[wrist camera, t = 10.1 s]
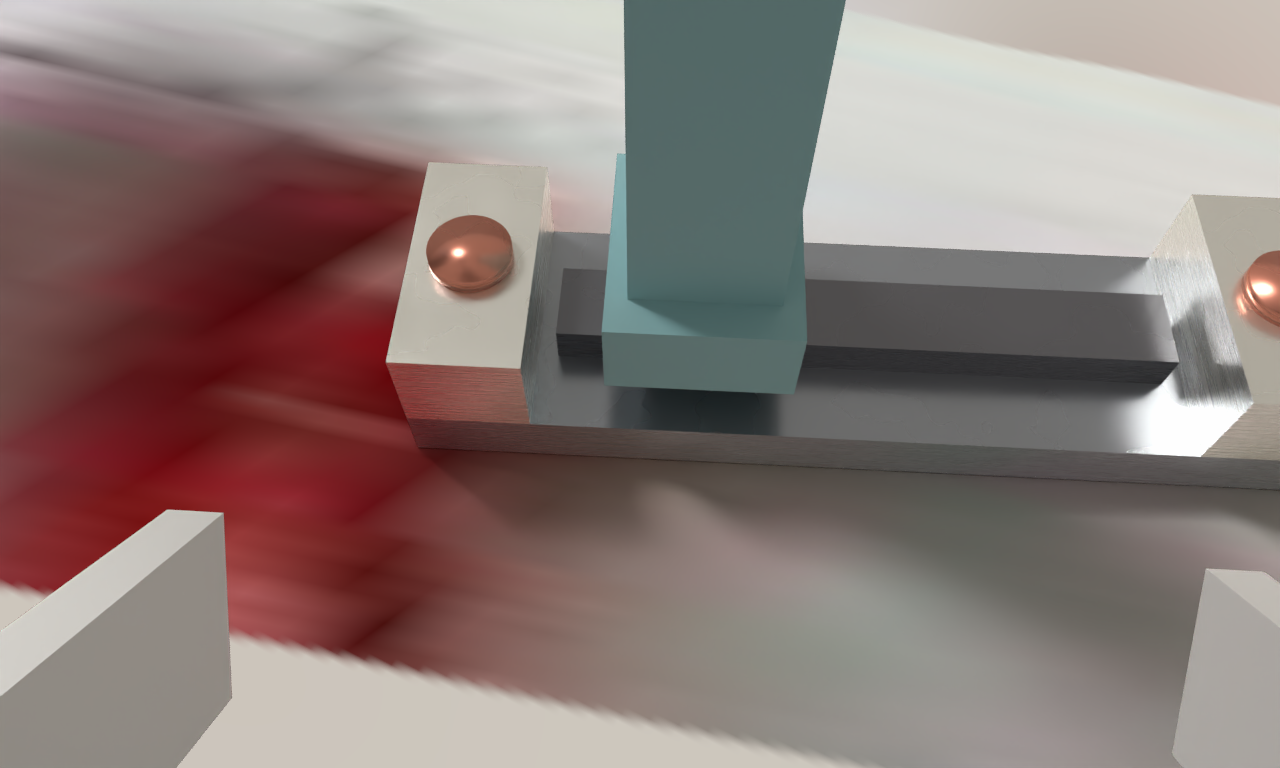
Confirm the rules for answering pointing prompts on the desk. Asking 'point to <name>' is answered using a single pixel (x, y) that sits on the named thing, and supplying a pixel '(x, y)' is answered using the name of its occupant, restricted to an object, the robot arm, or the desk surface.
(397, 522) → the desk surface
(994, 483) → the desk surface
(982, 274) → the rail
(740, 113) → the carriage
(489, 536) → the desk surface
